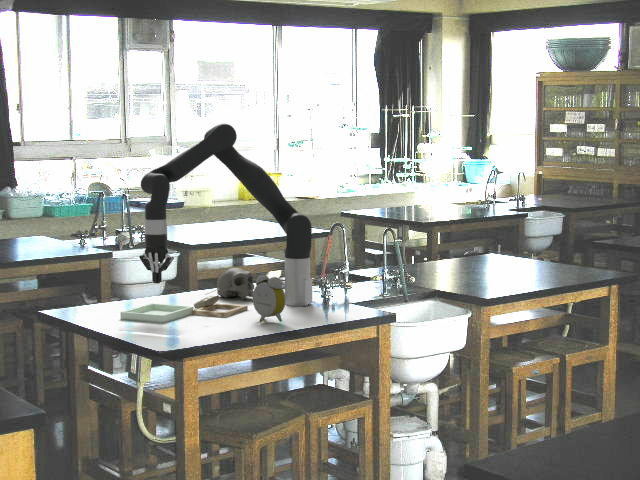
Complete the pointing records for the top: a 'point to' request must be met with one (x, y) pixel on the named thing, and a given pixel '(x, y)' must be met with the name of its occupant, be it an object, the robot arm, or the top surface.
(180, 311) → the tray
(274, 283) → the alarm clock
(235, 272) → the skull
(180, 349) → the top surface
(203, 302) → the cuneiform tablet
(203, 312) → the frame
